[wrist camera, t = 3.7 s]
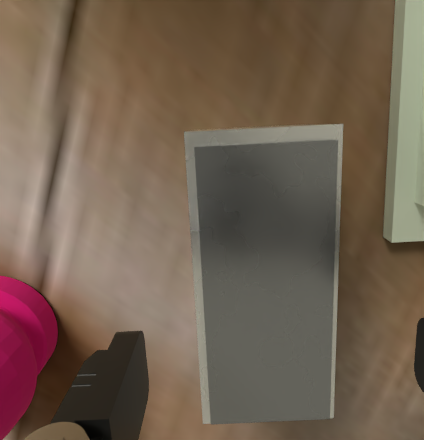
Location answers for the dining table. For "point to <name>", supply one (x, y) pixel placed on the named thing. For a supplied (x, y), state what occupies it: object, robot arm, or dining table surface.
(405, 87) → the stand
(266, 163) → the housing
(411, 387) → the dining table surface
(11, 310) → the pepper mill
